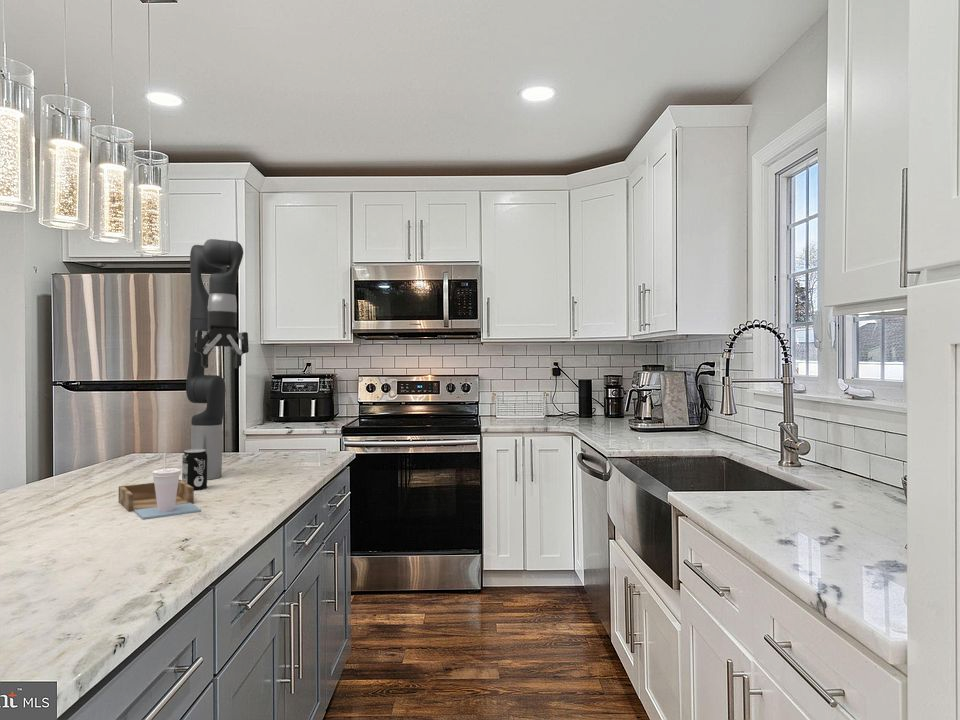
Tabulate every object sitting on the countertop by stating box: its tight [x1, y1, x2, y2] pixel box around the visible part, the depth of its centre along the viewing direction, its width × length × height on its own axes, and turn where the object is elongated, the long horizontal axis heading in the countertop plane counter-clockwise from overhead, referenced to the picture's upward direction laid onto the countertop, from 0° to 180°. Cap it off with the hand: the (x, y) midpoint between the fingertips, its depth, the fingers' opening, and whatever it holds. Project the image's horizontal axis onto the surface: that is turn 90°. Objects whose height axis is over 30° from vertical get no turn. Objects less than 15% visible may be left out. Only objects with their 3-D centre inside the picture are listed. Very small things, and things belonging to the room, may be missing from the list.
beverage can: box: [181, 448, 208, 492], centre depth 181 cm, size 7×7×12 cm
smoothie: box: [151, 452, 182, 512], centre depth 153 cm, size 6×6×14 cm
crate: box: [118, 479, 195, 513], centre depth 163 cm, size 13×15×5 cm
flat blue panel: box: [133, 502, 202, 521], centre depth 154 cm, size 1×13×10 cm
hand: (221, 368), depth 176 cm, fingers open, 8 cm apart
